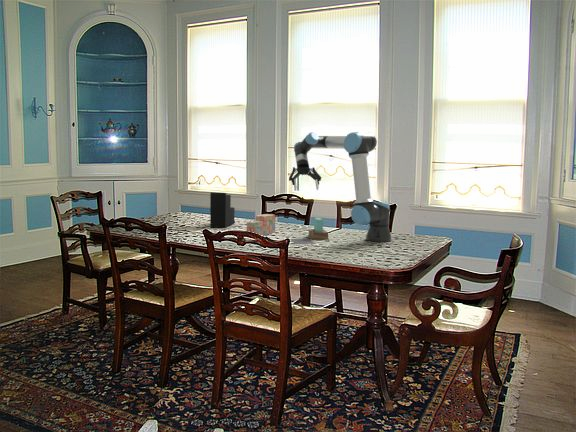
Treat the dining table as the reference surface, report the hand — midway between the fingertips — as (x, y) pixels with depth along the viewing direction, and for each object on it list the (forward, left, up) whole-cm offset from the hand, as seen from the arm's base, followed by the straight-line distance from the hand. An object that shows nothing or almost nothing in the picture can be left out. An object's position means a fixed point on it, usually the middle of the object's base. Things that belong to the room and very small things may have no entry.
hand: (306, 188), depth 357 cm
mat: (+11, +16, -30) cm, 35 cm away
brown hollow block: (-4, +9, -30) cm, 31 cm away
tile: (-4, +9, -29) cm, 30 cm away
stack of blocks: (+23, -15, -30) cm, 41 cm away
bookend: (+31, -60, -30) cm, 73 cm away
